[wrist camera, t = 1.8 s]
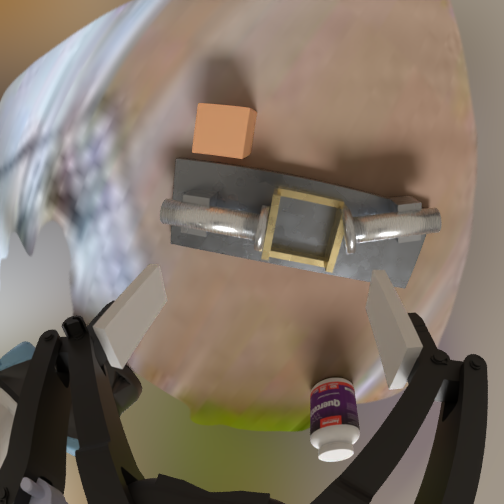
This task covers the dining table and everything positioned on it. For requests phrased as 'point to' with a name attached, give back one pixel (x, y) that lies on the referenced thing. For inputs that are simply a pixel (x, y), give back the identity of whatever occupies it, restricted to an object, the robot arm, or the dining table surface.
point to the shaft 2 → (390, 223)
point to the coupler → (224, 130)
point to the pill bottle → (334, 419)
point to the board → (294, 221)
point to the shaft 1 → (214, 217)
